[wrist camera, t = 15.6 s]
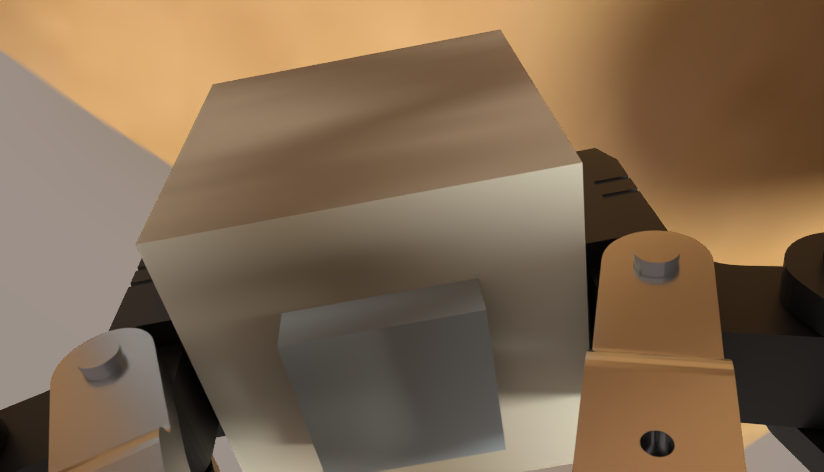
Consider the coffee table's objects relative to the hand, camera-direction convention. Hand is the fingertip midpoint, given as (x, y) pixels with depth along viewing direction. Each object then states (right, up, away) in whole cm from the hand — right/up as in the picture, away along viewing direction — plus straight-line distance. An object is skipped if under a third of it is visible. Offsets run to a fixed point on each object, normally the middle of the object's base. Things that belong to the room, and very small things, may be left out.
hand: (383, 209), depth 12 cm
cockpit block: (0, 0, +1) cm, 1 cm away
